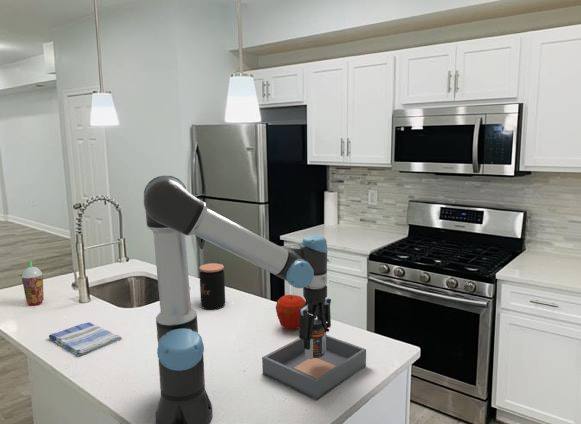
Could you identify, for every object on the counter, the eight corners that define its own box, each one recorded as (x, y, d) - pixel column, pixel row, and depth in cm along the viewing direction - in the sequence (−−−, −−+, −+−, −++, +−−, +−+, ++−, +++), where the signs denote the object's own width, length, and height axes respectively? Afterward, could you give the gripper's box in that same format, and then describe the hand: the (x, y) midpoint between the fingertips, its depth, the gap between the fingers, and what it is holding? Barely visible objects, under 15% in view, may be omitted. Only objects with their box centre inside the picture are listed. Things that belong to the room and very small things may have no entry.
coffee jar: (198, 303, 209) (196, 265, 206) (221, 299, 214) (220, 262, 211) (204, 312, 200) (202, 271, 197) (228, 307, 204) (227, 268, 201)
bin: (316, 400, 135) (316, 381, 134) (262, 374, 149) (262, 357, 148) (365, 366, 154) (366, 349, 153) (313, 346, 168) (313, 330, 167)
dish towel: (78, 359, 161) (78, 351, 161) (47, 340, 176) (46, 333, 175) (123, 341, 174) (123, 334, 174) (91, 325, 189) (90, 318, 188)
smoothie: (20, 306, 208) (15, 262, 204) (35, 299, 216) (30, 257, 212) (35, 308, 206) (30, 264, 202) (50, 301, 213) (45, 259, 210)
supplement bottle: (304, 358, 148) (304, 324, 146) (307, 349, 154) (307, 317, 152) (323, 359, 147) (323, 326, 145) (325, 350, 153) (325, 318, 151)
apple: (280, 336, 176) (279, 301, 173) (272, 324, 187) (272, 290, 185) (311, 332, 179) (311, 298, 176) (302, 320, 190) (302, 287, 188)
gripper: (304, 296, 137) (305, 369, 141) (342, 280, 151) (342, 346, 155) (285, 290, 142) (287, 361, 146) (324, 275, 156) (324, 340, 160)
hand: (315, 353), depth 150 cm, fingers closed on supplement bottle, 6 cm apart
